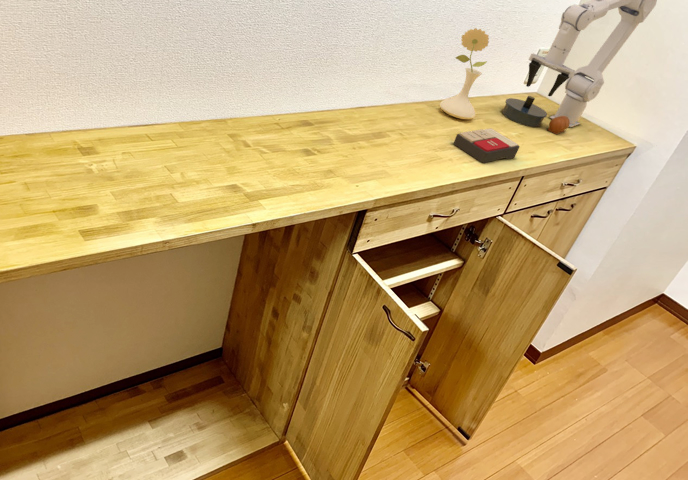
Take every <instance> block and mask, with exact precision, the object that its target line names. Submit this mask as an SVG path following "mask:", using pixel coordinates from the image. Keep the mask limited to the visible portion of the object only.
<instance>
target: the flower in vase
mask: <svg viewBox="0 0 688 480" xmlns="http://www.w3.org/2000/svg"><path fill="white" fill-rule="evenodd" d="M489 36H490V35H489V34H487V33H486V31H485V30H482V28H479V29H478V28H476V27H474V28H473V29H472V28H470V29H468V30H467V31H465V32H464V34H462V35H461V46H462V47H463V48H466V50H467V51H470V55H469V56H467V55H466V54H459V55H457V56H456V57H455V59H456V60H457V61H459V62H460V63H467V62H469V64H470V67H466V68H465V74H466V75H465V79H464V84H463V86H462V88H461V90H460V92H458V94H456V95H453V96H450V97H448V98H445V99H443V100H442V101H441V102H439V107H440V109H441V111H443V112H444V113H446V114H447V115H449V116H451V117H454V118H457V119H461V120H472V119H473V118H475V117H476V110H475V108H474V106H473V104H472V102H471V101H470V98H469V93H470V90H471V89H472V86H473V84H474V83H475V81H476V80H477V79H478V78H479V77H480V76H482V75H483V73H482V72H481V71H480V70H477V69H475V68H473V67H477V68H479V67H482V66H484V65H485V64H486V63H487V62H488V60H486V61H477V62H474V63H473V64H472V54H473V52H478V51H480V52H482V51H483V50H484V49H486V48H487V47H488V46H489V43H490V41H489V39H490V38H489Z"/></svg>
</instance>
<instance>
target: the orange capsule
mask: <svg viewBox="0 0 688 480" xmlns="http://www.w3.org/2000/svg"><path fill="white" fill-rule="evenodd" d="M569 124H570V121H569V119H568V118H567V117H566V116H559V117H556V118H553V119H551V120H550V121H549V123H548V128H547V131H548V132H551V133H552V134H555V135H558V134H561V133H564V132H565V131H566V130H567V129H568V128H570V127H569Z"/></svg>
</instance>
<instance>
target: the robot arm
mask: <svg viewBox="0 0 688 480" xmlns="http://www.w3.org/2000/svg"><path fill="white" fill-rule="evenodd" d="M657 1H658V0H589V1H585V2H583V3H581V4H580V5H578V4H572V5H569V6H568V7H567V8H566V9H565V10H564V12H562V14H561V17H560V24H559V25H558V31H557V33H556V36H555V38H554V40H553V41H552V43H551V46H550V48H549V50H548V52H547V53H546V55H545V57H544V56H541V55H539V54H536V53H531V54H530V56H529V57H528V61H530V62H529V64H528V77H527V81H526V85H525V87H527V88H529V87H531V85H532V84H533V82H534V79H535V77H536V75H537V73H538V72H539V70H540V69H541V67H542V66H543V67H546V68H548V69H551V70H552V71H555V72H557V73H558V74H557V77H556V79H555V80H554V83H553V85H552V87H551V89H550V90H549V92H548V94H547V96H548V97H552V96H553V95H554V93H556V91H557V90H558V89H559V88H560V87H561V86H562V85H563V84H564V83H565V85H564V89H565V91H564V93H565V96H564V97H563V99H562V100H561V103H560V104H559V106H558V108H557V109H556V112H555V114H554V115H551V116H549V119H551V120H552V119H553V118H556V117H559V116H566V117H567V118H568V119H569V121H570V124H569V127H568V128H572V127H575V126H578V125H580V124H581V122H579V121H580V118H581V116H582V115H583V113H584V112H585V110H586V107H587V104H588V103H589V102H592V100H595V98H596V97H597V96H598V95H599V93H600V92H601V91H600V90H601V89H602V87H603V85H604V84H605V80H604V76H603V72H604V71H605V70H606V68H607V67H608V66H609V64H610V63H611V62H612V61H613V59H614V58H615V57H616V55H617V54H618V52H619V51H620V50H621V49H622V47H623V46H624V45H625V43H626V42H627V40H628V39H629V38H630V37H631V35H632V34H633V33H634V32H635V30H636V29H637V27H638V26H639V24H641V23H644V22H645V20H646V19H647V18H648V16H649V15H650V14H651V13H652V11H653V10H654V9H655V7H656V5H657ZM615 9H617V10H618V14H619V15H620V21H619V22H618V24H617V25H616V26H615V28H614V29H613V30H612V32H611V33H610V35H609V36H608V37H607V38H606V40H605V41H604V42H603V44H602V45H601V46H600V48H599V50H598V51H597V52H596V53H595V55H594V56H593V57H592V59H591V60H590V62H589V63H588V64H587V65H585V66H581V67H578V68H576V70H575V69H572V68H571V67H568V66H567V65H564V63H565V61H566V60H567V58H568V56H569V54H570V52H571V50H572V48H573V47H574V45H575V43H576V41H577V39H578V36H579V35H580V33H581V32H582V31H584V30H586V28H588V26H589V25H590V24H592V23H593V22H594V21H596V20H599V19H601V18H604V17H605V16H606V15H607V13H608V12H609V11H612V10H615Z"/></svg>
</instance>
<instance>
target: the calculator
mask: <svg viewBox="0 0 688 480" xmlns="http://www.w3.org/2000/svg"><path fill="white" fill-rule="evenodd" d="M452 144H453V145H454V146H456V147H457V148H458V149H460V150H462V151H463V152H465V153H466V154H467V155H470V156H471V157H473V158H474V159H475V160H477V161H479V162H480V163H482V164H484V163H488V162H493V161H497V160H502V159H506V160H510V159H514V158H515V157H516V156H517V153H518V152H519V149H520V145H519V143H517V142H515V141H514V140H512V139H510V138H508V137H506V136H505V135H503V134H501V133H500V132H498V131H496V130H495V129H493V128H484V129H483V128H481V129H475V130H472V131H471V130H469V131H463V132H460V133H457V134H456V136H455V138H454V141H453V143H452Z"/></svg>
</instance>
